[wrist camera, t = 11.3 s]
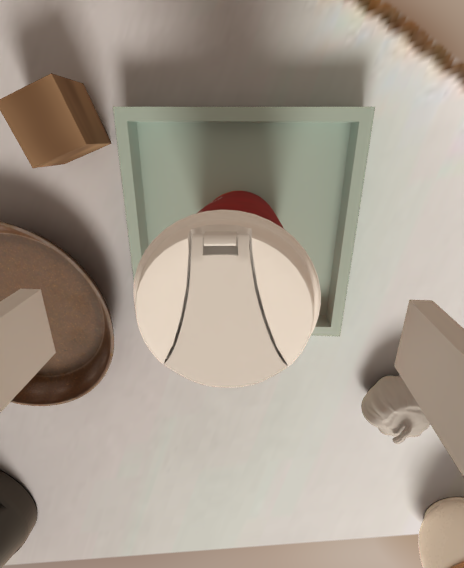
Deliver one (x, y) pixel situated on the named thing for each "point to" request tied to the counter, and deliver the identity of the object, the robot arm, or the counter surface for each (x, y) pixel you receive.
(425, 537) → the lidded jar
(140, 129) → the tray
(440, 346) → the robot arm
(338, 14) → the counter surface
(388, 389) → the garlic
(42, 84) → the walnut block
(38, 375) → the plant saucer
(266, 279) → the paper cup
